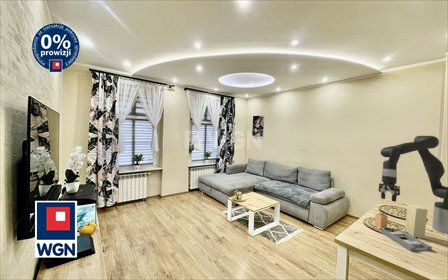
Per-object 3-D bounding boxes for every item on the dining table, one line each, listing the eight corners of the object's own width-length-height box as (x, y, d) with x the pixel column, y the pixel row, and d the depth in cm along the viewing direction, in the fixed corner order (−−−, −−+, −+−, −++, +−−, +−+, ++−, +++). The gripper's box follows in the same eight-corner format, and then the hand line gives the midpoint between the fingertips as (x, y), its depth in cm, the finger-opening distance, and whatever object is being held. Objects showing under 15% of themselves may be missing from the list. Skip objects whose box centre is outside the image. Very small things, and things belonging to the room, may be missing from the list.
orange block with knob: (374, 225, 142) (375, 211, 141) (380, 225, 142) (381, 211, 142) (380, 229, 137) (381, 214, 136) (386, 229, 137) (387, 214, 137)
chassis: (380, 232, 132) (380, 229, 132) (398, 232, 133) (398, 228, 133) (410, 251, 112) (410, 247, 112) (431, 250, 113) (431, 246, 113)
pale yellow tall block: (426, 238, 126) (429, 209, 124) (413, 237, 127) (416, 208, 126) (416, 232, 133) (419, 204, 132) (404, 231, 135) (407, 203, 134)
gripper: (404, 177, 118) (403, 203, 116) (386, 176, 132) (385, 198, 130) (392, 176, 119) (391, 201, 117) (375, 174, 133) (374, 197, 131)
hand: (388, 200), depth 124 cm, fingers open, 8 cm apart
